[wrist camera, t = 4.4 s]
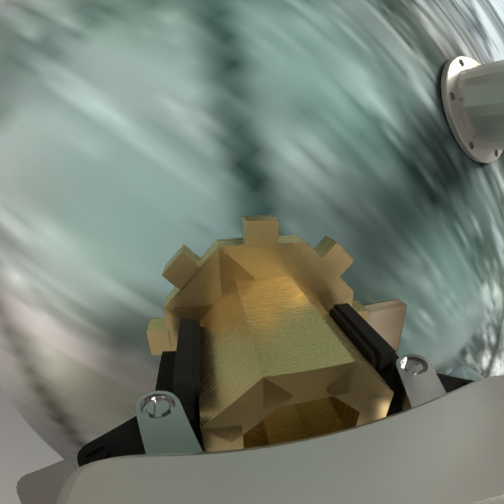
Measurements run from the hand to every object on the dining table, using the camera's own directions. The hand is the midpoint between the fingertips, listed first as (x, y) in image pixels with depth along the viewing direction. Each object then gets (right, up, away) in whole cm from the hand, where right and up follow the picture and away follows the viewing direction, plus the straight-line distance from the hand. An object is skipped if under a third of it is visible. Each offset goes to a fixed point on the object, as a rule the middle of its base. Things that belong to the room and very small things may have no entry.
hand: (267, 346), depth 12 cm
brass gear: (0, +1, +2) cm, 2 cm away
